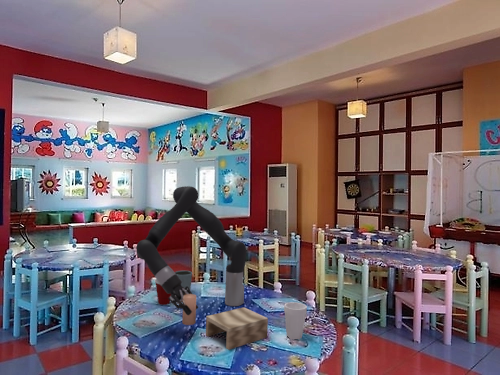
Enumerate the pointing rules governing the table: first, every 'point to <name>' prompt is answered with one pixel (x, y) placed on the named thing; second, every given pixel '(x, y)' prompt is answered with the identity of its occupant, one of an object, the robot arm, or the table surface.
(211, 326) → the wooden stand
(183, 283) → the drinking glass
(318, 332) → the table surface
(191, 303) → the tan dome-topped peg
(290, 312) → the foam cup
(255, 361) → the table surface
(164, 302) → the plastic cup
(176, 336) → the table surface
